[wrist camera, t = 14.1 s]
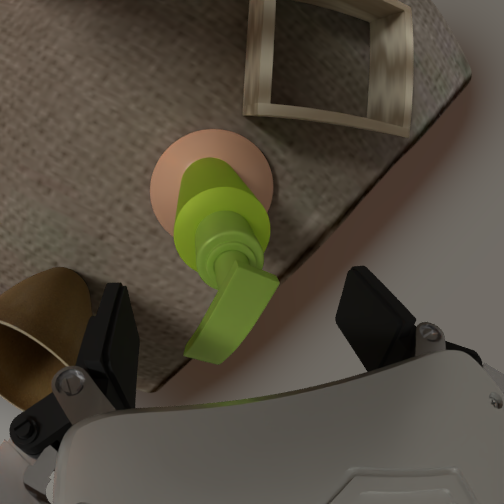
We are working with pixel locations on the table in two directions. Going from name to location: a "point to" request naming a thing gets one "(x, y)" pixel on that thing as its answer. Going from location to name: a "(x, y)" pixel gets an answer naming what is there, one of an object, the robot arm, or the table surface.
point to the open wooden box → (380, 72)
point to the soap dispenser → (223, 254)
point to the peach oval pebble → (202, 146)
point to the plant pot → (40, 333)
